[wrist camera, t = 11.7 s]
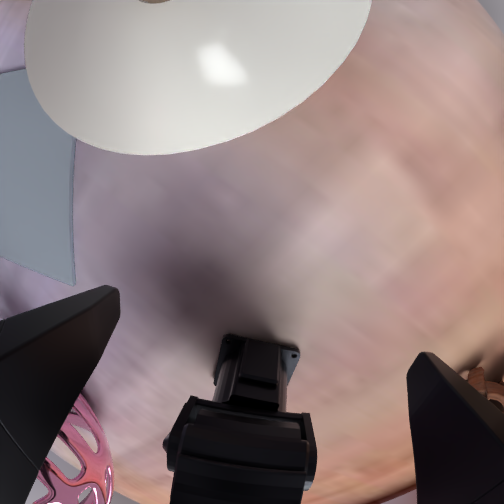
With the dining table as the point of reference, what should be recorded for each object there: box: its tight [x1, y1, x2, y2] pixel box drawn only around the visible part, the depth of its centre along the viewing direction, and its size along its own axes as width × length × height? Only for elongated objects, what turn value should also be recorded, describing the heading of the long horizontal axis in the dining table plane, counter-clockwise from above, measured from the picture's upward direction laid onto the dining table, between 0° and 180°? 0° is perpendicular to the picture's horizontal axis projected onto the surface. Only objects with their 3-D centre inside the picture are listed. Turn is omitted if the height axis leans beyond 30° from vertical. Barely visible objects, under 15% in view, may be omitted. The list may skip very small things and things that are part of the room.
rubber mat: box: [0, 69, 76, 286], centre depth 20 cm, size 19×19×1 cm
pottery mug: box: [466, 367, 504, 413], centre depth 22 cm, size 12×9×8 cm
